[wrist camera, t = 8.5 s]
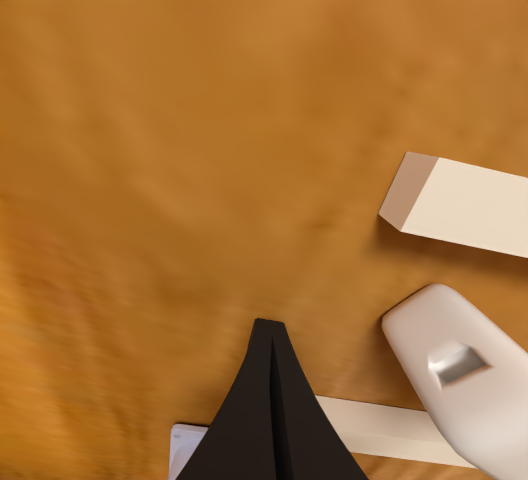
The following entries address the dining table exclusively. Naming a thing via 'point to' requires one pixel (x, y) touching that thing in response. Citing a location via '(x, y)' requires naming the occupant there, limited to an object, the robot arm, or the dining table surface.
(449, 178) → the white u-shaped frame
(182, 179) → the dining table surface
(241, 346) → the dining table surface
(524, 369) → the power adapter
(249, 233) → the dining table surface
